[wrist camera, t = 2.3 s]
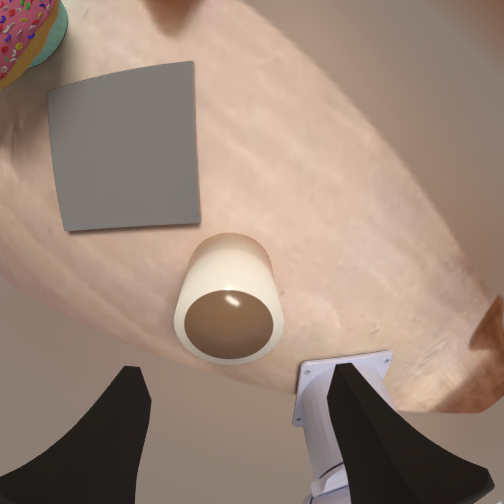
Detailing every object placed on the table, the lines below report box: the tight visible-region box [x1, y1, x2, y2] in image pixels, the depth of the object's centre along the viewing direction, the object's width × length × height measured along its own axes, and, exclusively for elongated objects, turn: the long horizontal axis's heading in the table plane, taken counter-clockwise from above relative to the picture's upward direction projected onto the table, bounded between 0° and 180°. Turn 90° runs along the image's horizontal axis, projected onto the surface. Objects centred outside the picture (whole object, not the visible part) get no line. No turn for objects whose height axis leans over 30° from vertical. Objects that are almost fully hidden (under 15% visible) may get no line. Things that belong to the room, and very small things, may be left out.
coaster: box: [48, 61, 201, 231], centre depth 15 cm, size 9×9×1 cm
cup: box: [174, 233, 284, 365], centre depth 16 cm, size 5×5×6 cm
